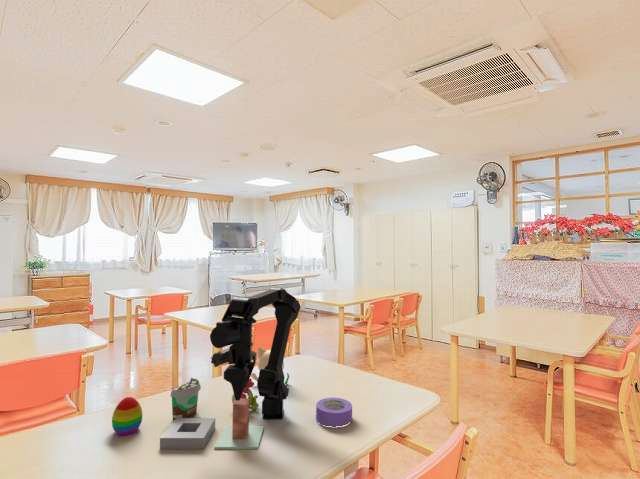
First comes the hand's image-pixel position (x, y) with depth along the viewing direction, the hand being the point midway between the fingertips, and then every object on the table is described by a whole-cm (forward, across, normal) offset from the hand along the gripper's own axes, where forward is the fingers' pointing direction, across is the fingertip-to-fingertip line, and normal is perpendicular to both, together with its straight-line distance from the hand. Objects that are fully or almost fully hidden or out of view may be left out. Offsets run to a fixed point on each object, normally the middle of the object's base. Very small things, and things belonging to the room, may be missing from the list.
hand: (240, 393), depth 108 cm
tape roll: (+13, -12, +28) cm, 33 cm away
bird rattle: (+13, -19, -2) cm, 23 cm away
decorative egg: (+13, -4, -35) cm, 38 cm away
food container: (+13, -15, -20) cm, 28 cm away
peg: (+12, 0, 0) cm, 12 cm away
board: (+13, 0, 0) cm, 13 cm away
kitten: (+13, -44, +4) cm, 46 cm away
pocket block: (+13, 0, -15) cm, 20 cm away
